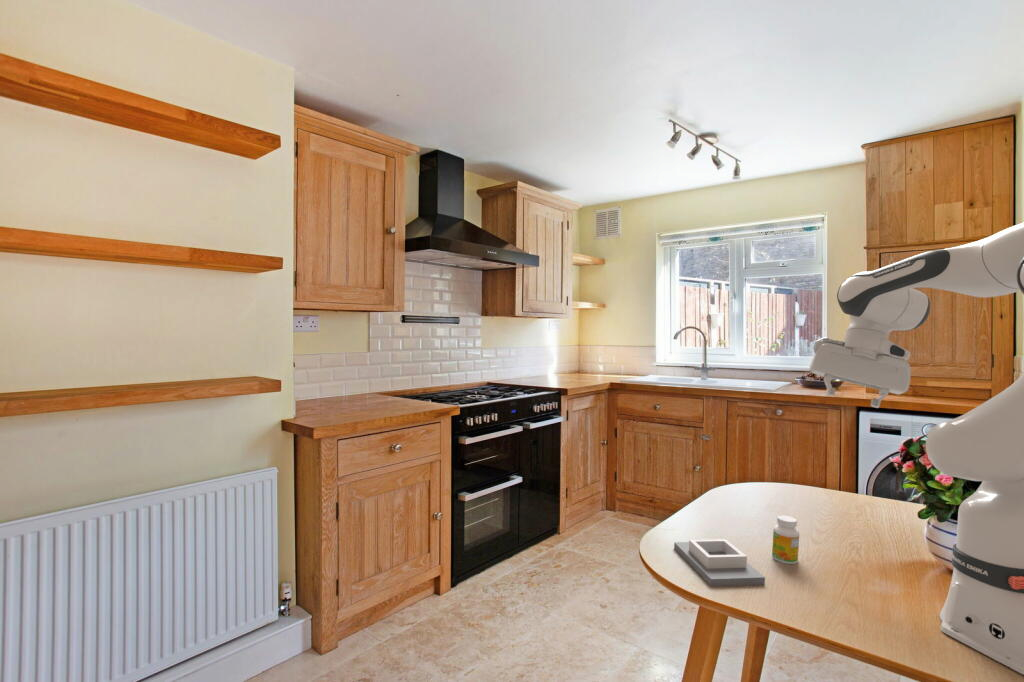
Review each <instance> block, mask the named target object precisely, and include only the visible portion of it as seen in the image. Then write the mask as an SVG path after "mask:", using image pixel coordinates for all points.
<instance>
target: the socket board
mask: <svg viewBox="0 0 1024 682" xmlns="http://www.w3.org/2000/svg"><path fill="white" fill-rule="evenodd" d="M673 547H674V550H675V551H676V552H677V553H678V554H679V555H680V556H681V557H682V558H683V559H684V561H686V562H687V563H688V565H690V566H691V567H692V569H694V570H695V571H696V573H698V575H699V576H700V577H701V578H702V579H703V580H704V581H705V582H706V583H707V584H708V585H709V586H710V587H722V586H723V587H725V586H726V587H727V586H751V585H752V586H753V585H754V586H755V585H758V586H759V585H760V586H761V585H765V584H766V581H765V580H766V577H765V576H764V575H763V574H762V573H761V572H759V571H758V570H757V569H756V568H755V567H753V566H752V565H751V564H749V563H748V556H747V555H746V554H745V553H743V551H741V550H740V549H738V548H737V546H735V545H734V544H732V543H731V542H730V541H728V539H725V538H717V539H716V538H715V539H689V541H681V542H680V541H678V542H675V541H674V546H673Z"/></svg>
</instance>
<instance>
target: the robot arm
mask: <svg viewBox="0 0 1024 682" xmlns="http://www.w3.org/2000/svg"><path fill="white" fill-rule="evenodd" d="M916 288H927V289H928V288H929V289H936V290H943V291H947V292H952V293H957V294H960V295H961V294H962V295H965V296H971V297H976V298H994V297H1001V296H1005V295H1007V296H1008V295H1011V294H1014V293H1017V292H1021V293H1022V294H1023V295H1024V221H1023V222H1021V223H1018V224H1015V225H1012V226H1010V227H1007V228H1005V229H1002V230H1000V231H998V232H996V233H994V234H991V235H989V236H987V237H985V238H982V239H979V240H976V241H971V242H969V243H965V244H962V245H958V246H953V247H947V248H941V249H934V250H930V251H926V252H925V251H924V252H922V253H919V254H916V255H913V256H910V257H907V258H904V259H902V260H899V261H897V262H893V263H891V264H888V265H886V266H883V267H881V268H880V267H879V268H877V269H874V270H864V271H860V272H857V273H854V274H852V275H850V276H848V277H847V278H846V279H845V280H844V281H843V282H842V283H841V284H840V286H839V287H838V290H837V293H836V298H837V302H838V305H839V307H840V309H841V311H842V312H843V313H844V314H846V315H849V325H848V326H847V328H846V330H845V334H844V338H843V340H837V339H831V338H828V337H822V338H819V339H817V340H816V341H815V343H814V346H813V351H814V355H813V357H812V360H811V363H810V366H809V370H810V372H811V374H815V375H817V376H818V375H819V376H823V382H824V383H823V384H825V387H826V392H825V395H826V396H829V397H834V396H835V392H836V390H837V389H836V388H835V387H833V385H832V384H831V382H832V381H833V379H835V380H838V381H843V382H847V383H850V384H854V385H859V386H863V387H866V388H871V389H874V390H878V393H877V394H878V395H879V396H878V397H877V398H875V397H874V398H871V399H870V405H869V406H870V407H873V408H875V409H879V408H880V406H881V402H882V400H884V399H885V398H886V397H887V396H888V395H889V393H891V394H895V395H902V394H904V393H906V392H908V390H909V389H910V383H911V373H912V371H911V366H910V364H909V362H908V360H909V359H910V357H911V352H910V351H909V350H907V349H906V348H904V347H902V346H900V345H898V344H896V343H894V342H892V341H891V340H889V339H890V333H891V332H892V331H896V332H907V331H913V330H914V329H917V328H919V327H921V326H923V325H924V324H925V323H926V321H927V320H928V318H929V315H930V312H931V301H930V298H929V296H928V295H927V294H926V293H924V292H922V291H920V290H917V289H916ZM925 450H926V451H925V452H926V455H927V457H928V459H929V461H930V463H931V464H932V466H933V467H934V468H935V469H937V470H938V471H939V472H940V473H942V474H943V475H946V476H950V477H953V478H954V477H955V478H957V479H963V480H968V481H972V482H981V484H980V485H979V486H978V487H977V489H976V491H974V492H973V493H972V494H971V495H970V496H968V497H967V498H966V499H964V500H963V501H962V502H961V503H960V505H959V507H958V513H957V514H958V515H957V529H956V540H955V541H956V542H955V543H954V544H953V546H952V552H951V565H952V566H953V568H952V569H953V570H952V571H953V572H952V574H951V575H952V576H951V580H950V586H949V589H948V594H947V597H946V599H945V602H944V605H943V607H942V609H941V611H940V612H939V619H940V620H941V625H940V631H941V632H943V633H944V634H945V635H947V636H949V637H951V638H953V639H955V640H957V641H959V642H961V643H962V644H965V645H966V646H968V647H970V648H972V649H974V650H975V651H978V652H979V653H982V654H984V655H986V656H987V657H989V658H991V659H993V660H995V661H997V662H998V663H1001V664H1002V665H1005V666H1006V667H1009V668H1010V669H1012V670H1014V671H1016V672H1017V673H1019V674H1021V675H1023V676H1024V372H1023V373H1022V374H1021V376H1019V377H1018V378H1017V379H1016V380H1015V381H1014V382H1013V383H1011V385H1009V386H1008V387H1006V388H1005V389H1004V390H1002V391H1001V392H999V393H998V394H996V395H994V396H993V397H991V398H989V399H988V400H986V401H984V402H982V403H981V404H980V405H978V406H976V407H974V408H973V409H970V410H969V411H968V412H966V413H964V414H962V415H960V416H957V417H955V418H953V419H949V420H947V421H944V422H941V423H938V424H936V425H934V426H933V427H932V428H931V429H930V430H929V432H928V434H927V436H926V439H925Z"/></svg>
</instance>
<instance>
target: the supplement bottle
mask: <svg viewBox="0 0 1024 682" xmlns="http://www.w3.org/2000/svg"><path fill="white" fill-rule="evenodd" d="M776 520H777V521H776V522H777V524H775V526H774V527H773V531H772V533H773V534H772V550H771V551H772V552H771V557H772V558H773V559H774V560H775V561H777V562H779V563H781V564H787V565H795V564H797V563H798V560H799V545H800V531H799V529H798V528H797V525H798V524H797V519H796V518H794V517H792V516H788V515H778V516H777V518H776Z"/></svg>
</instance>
